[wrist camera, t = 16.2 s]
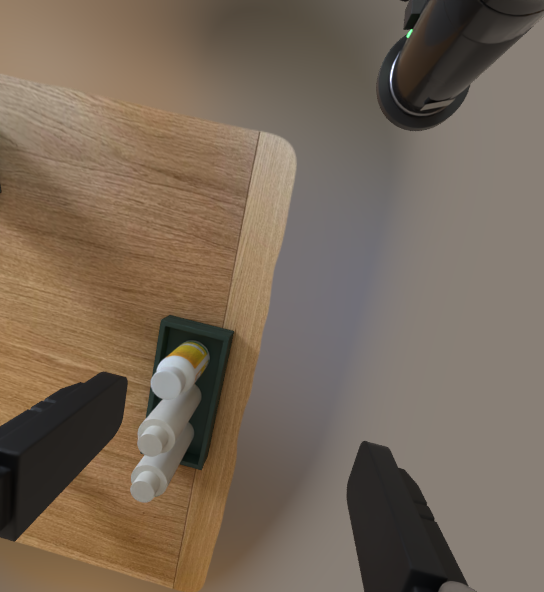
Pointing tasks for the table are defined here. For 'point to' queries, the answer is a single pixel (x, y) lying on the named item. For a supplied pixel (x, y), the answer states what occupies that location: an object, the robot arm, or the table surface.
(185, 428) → the white bottles
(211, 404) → the tray
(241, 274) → the table surface
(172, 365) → the supplement bottle
